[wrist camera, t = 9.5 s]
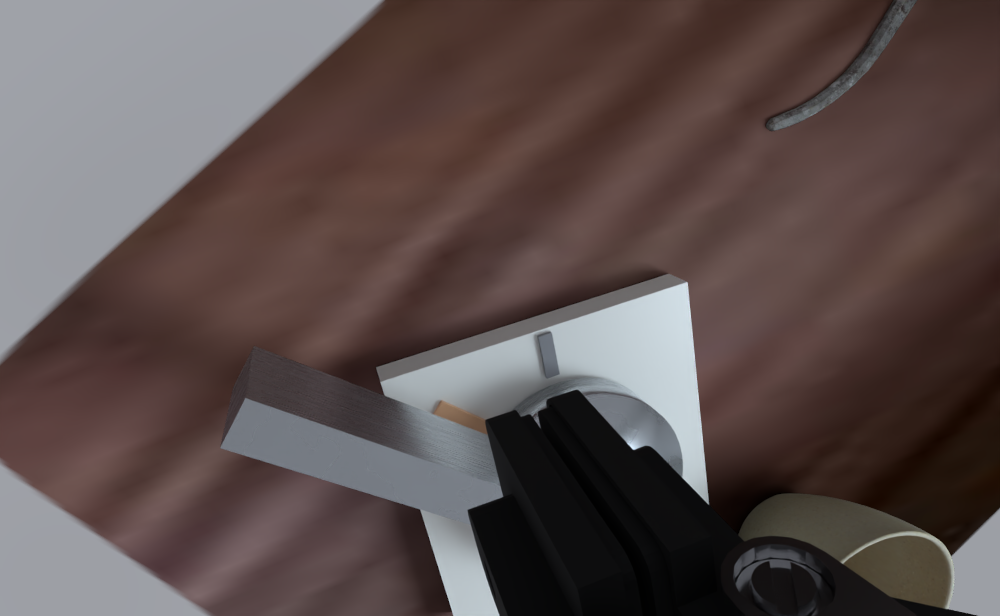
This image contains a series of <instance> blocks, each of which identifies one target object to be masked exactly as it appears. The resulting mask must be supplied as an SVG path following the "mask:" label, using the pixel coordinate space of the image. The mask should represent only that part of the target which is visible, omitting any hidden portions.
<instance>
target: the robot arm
mask: <svg viewBox="0 0 1000 616" xmlns="http://www.w3.org/2000/svg"><path fill="white" fill-rule="evenodd" d="M546 407H547V408H546V409H543V410H540V411H538V418H539V423H540V427H539V425H538V424H537V423H536V421H535V420H534V418H533V417H532V415H531V414H528V415H525V416H522V417H521V416H520V415H519V413H518V412H517V411H516V410H513V411H510V412H507V413H504V414H501V415H498V416H495V417H492V418H489V419H486V420H485V425H486V430H487V434H488V438H489V442H490V446H491V450H492V454H493V458H494V462H495V466H496V470H497V474H498V478H499V482H500V486H501V490H502V494H503V497H502V498H499V499H496V500H493V501H490V502H488V503H485V504H482V505H479V506H477V507H474V508H471V509H468V516H469V520H470V524H471V527H472V531H473V535H474V538H475V542H476V545H477V549H478V552H479V556H480V559H481V562H482V566H483V569H484V572H485V575H486V578H487V581H488V584H489V587H490V590H491V593H492V596H493V599H494V602H495V605H496V607H497V610H498V613H499V616H976V615H972V614H968V613H963V612H958V611H954V610H949V609H944V608H940V607H935V606H930V605H926V604H921V603H917V602H912V601H907V600H903V599H898V598H893V597H890V596H888V595H887V594H885V593H884V592H883V591H881V590H880V589H878V588H877V587H875V586H874V585H873V584H871V583H870V582H868V581H867V580H865V579H864V578H862V577H861V576H860V575H858V574H857V573H855V572H854V571H852V570H851V569H850V568H848V567H847V566H845V565H844V564H842V563H841V562H839V561H838V560H837V559H835V558H834V557H832V556H831V555H829V554H828V553H826V552H825V551H823V550H821V549H819V548H817V547H816V546H814V545H812V544H810V543H808V542H804V541H801V540H798V539H794V538H791V537H781V536H764V537H756V538H752V539H749V540H747V541H744V540H743V539H742V538H741V537H740V536H739V535H738V534H737V533H736V532H735V531H734V530H733V529H732V528H731V527H730V526H729V525H728V524H727V523H726V522H725V521H724V520H723V519H722V518H721V517H720V516H719V515H718V514H717V513H716V512H715V511H714V510H713V509H712V508H711V507H710V506H709V505H708V504H707V502H706V501H705V500H704V499H703V498H702V497H701V496H700V495H699V494H698V493H697V492H696V491H695V490H694V489H693V488H692V487H691V486H690V485H689V484H688V483H687V482H686V481H685V480H684V479H683V478H682V477H681V476H680V475H679V474H678V473H677V472H676V471H675V470H674V469H673V468H672V467H671V466H670V465H669V464H668V463H667V461H666V460H665V459H664V458H663V457H662V456H661V455H660V454H659V453H658V452H657V451H656V450H654V449H653V448H652V447H651V446H643V447H640V448H637V449H635V450H633V449H632V448H631V447H630V446H629V445H628V443H627V442H626V441H625V440H624V439H623V438H622V437H621V436H620V435H619V434H618V432H617V431H616V430H615V429H614V428H613V427H612V426H611V425H610V424H609V423H608V421H607V420H606V419H605V418H604V417H603V416H602V415H601V414H600V413H599V412H598V411H597V409H596V408H595V407H594V406H593V405H592V404H591V403H590V402H589V401H588V400H587V398H586V397H585V396H584V395H583V394H582V393H581V392H580V391H579V390H573V391H570V392H567V393H564V394H561V395H558V396H555V397H552V398H549V399H547V401H546Z"/></svg>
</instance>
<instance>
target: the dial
mask: <svg viewBox="0 0 1000 616" xmlns="http://www.w3.org/2000/svg"><path fill="white" fill-rule="evenodd" d="M573 390H579V391H580V392H581V393H582V394H583V395H584V396H585V397H586V398H587V400H588V401H589V402H590V403H591V404H592V405H593V406H594V407H595V408H596V409H597V411H598V412H599V413H600V414H601V415H602V416H603V417H604V418H605V419H606V420H607V421H608V423H609V424H610V425H611V426H612V427H613V428H614V429H615V430H616V431H617V432H618V434H619V435H620V436H621V437H622V438H623V439H624V440H625V441H626V442H627V443H628V445H629V446H630V447H631V448H632V449H633V450H635V449H637V448H640V447H643V446H651V447H652V448H653V449H654V450H656V451H657V452H658V453H659V454H660V455H661V456H662V457H663V458H664V459H665V460H666V461H667V463H668V464H669V465H670V466H671V467H672V468H673V469H674V470H675V471H676V472H677V473H678V474H679V475H680V476H681V477H682V476H683V459H682V452H681V448H680V443H679V441H678V439H677V436H676V434H675V432H674V430H673V429H672V427H671V426H670V424H669V423H668V422H667V421H666V420H665V418H664V417H663V416H662V415H660V414H659V413H658V412H657V411H656V410H654V409H653V408H652V407H651V406H650V405H649V404H647V403H646V402H645V401H644V400H643V399H641V398H640V397H639V396H638V395H637V394H635V393H634V392H633V391H632V390H630V389H628V388H627V387H625V386H623V385H621V384H618V383H616V382H613V381H610V380H605V379H600V378H577V379H571V380H566V381H562V382H559V383H556V384H553V385H550V386H548V387H546V388H544V389H542V390H540V391H538V392H536V393H534V394H533V395H531V396H530V397H528V398H526V399H525V400H524V401H523V402H521V403H520V404H519V405H517V406H516V407H515V408H514V409H513V410H516V411H517V412H518V413H519V415H520V416H521V417H522V416H525V415H528V414H531V415H532V417H533V418H534V420H535V421H536V423H537V424H538V425H539V427H540V423H539V418H538V411H540V410H543V409H546V408H547V407H546V401H547V399H549V398H552V397H555V396H558V395H561V394H564V393H567V392H570V391H573ZM513 410H512V411H513ZM220 448H222V449H225V450H228V451H232V452H235V453H238V454H241V455H245V456H248V457H251V458H254V459H258V460H261V461H264V462H267V463H271V464H274V465H277V466H280V467H284V468H287V469H290V470H293V471H297V472H300V473H303V474H306V475H310V476H313V477H316V478H319V479H323V480H326V481H329V482H332V483H336V484H339V485H342V486H345V487H349V488H352V489H355V490H359V491H362V492H365V493H368V494H372V495H375V496H378V497H381V498H385V499H388V500H391V501H394V502H398V503H401V504H404V505H407V506H411V507H414V508H417V509H420V510H424V511H427V512H430V513H433V514H437V515H440V516H443V517H446V518H450V519H453V520H456V521H459V522H463V523H466V524H469V525H471V524H470V520H469V516H468V509H471V508H474V507H477V506H479V505H482V504H485V503H488V502H490V501H493V500H496V499H499V498H502V497H503V494H502V490H501V486H500V482H499V478H498V474H497V470H496V466H495V462H494V458H493V454H492V450H491V446H490V442H489V438H488V435H486V434H484V433H481V432H479V431H476V430H473V429H471V428H468V427H465V426H463V425H460V424H458V423H455V422H452V421H450V420H447V419H444V418H442V417H439V416H437V415H434V414H431V413H429V412H426V411H424V410H421V409H418V408H416V407H413V406H410V405H408V404H405V403H403V402H400V401H397V400H395V399H392V398H390V397H387V396H384V395H382V394H379V393H376V392H374V391H371V390H369V389H366V388H363V387H361V386H358V385H356V384H353V383H350V382H348V381H345V380H342V379H340V378H337V377H335V376H332V375H329V374H327V373H324V372H321V371H319V370H316V369H314V368H311V367H308V366H306V365H303V364H301V363H298V362H295V361H293V360H290V359H287V358H285V357H282V356H280V355H277V354H274V353H272V352H269V351H267V350H264V349H261V348H259V347H256V346H254V347H253V349H252V351H251V353H250V355H249V357H248V359H247V361H246V363H245V365H244V367H243V369H242V371H241V373H240V375H239V377H238V379H237V381H236V383H235V385H234V387H233V390H232V395H231V400H230V404H229V409H228V414H227V418H226V423H225V428H224V432H223V437H222V442H221V446H220Z"/></svg>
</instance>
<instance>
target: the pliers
mask: <svg viewBox="0 0 1000 616" xmlns="http://www.w3.org/2000/svg"><path fill="white" fill-rule="evenodd" d="M916 1H917V0H893V2H892V4H891V6H890V7H889V9H888V11H887V12H886V14H885V16H884V17H883V19H882V21H881V22H880V24H879V26H878V27H877V29H876V30H875V32H874V34H873V35H872V37H871V38H870V40H869V42H868V43H867V44H866V46H865V47H864V49H863V50H862V52H861V53H860V55H859V56H858V57H857V59H856V60H855V61H854V62H853V63H852V64H851V66H850V67H849V68H848V69H847V70H846V71H845V73H843V74H842V75H841V76H840V77H839V78H838V79H837V80H836V81H835V82H834V83H832V84H831V85H830V86H829V87H828V88H826V89H825V90H824V91H822V92H821V93H820V94H818V95H817V96H816V97H814V98H813V99H811V100H810V101H808V102H806V103H804V104H802V105H801V106H799V107H797V108H795V109H792V110H790V111H788V112H785V113H783V114H780V115H778V116H776V117H774V118H771V119H769V121H768V123H767V124H766V128H767V129H768V130H770V131H775V130H779V129H783V128H786V127H788V126H791V125H793V124H796V123H798V122H801V121H803V120H805V119H806V118H808V117H810V116H812V115H814V114H816V113H817V112H819V111H821V110H822V109H824V108H825V107H826V106H828V105H829V104H831V103H832V102H834V101H835V100H836V99H838V98H839V97H840V96H841V95H843V94H844V93H845V92H846V91H847V90H849V89H850V88H851V87H852V86H853V85H854V84H855V83H856V82H857V81H858V80H859V79H860V78H861V77H862V76H863V75H864V74H865V73H866V72H867V71H868V70H869V69H870V67H871V66H872V65H873V64H874V62H875V61H876V60H877V58H878V57H879V56H880V54H881V53H882V52H883V50H884V49H885V47H886V46H887V44H888V43H889V42H890V40H891V39H892V37H893V36H894V34H895V33H896V31H897V30H898V28H899V27H900V25H901V24H902V22H903V21H904V19H905V18H906V16H907V15H908V13H909V12H910V10H911V9H912V7H913V6H914V4H915V3H916Z"/></svg>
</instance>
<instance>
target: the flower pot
mask: <svg viewBox="0 0 1000 616" xmlns="http://www.w3.org/2000/svg"><path fill="white" fill-rule="evenodd" d="M738 535H739V536H740V537H741V538H742V539H743V540H744V541H747V540H749V539H752V538H756V537H764V536H781V537H791V538H794V539H798V540H801V541H804V542H808V543H810V544H812V545H814V546H816V547H817V548H819V549H821V550H823V551H825V552H826V553H828V554H829V555H831V556H832V557H834V558H835V559H837V560H838V561H839V562H841V563H842V564H844V565H845V566H847V567H848V568H850V569H851V570H852V571H854V572H855V573H857V574H858V575H860V576H861V577H862V578H864V579H865V580H867V581H868V582H870V583H871V584H873V585H874V586H875V587H877V588H878V589H880V590H881V591H883V592H884V593H885V594H887V595H888V596H890V597H893V598H898V599H903V600H907V601H912V602H917V603H921V604H926V605H930V606H935V607H940V608H944V609H948V607H949V604H950V601H951V598H952V594H953V588H954V566H953V561H952V558H951V555H950V553H949V551H948V550H947V548H946V547H945V545H944V544H943V543H942V542H941V541H939V540H938V539H937V538H935V537H934V536H932V535H930V534H928V533H927V532H925V531H923V530H921V529H919V528H917V527H915V526H913V525H911V524H909V523H907V522H905V521H903V520H900V519H898V518H896V517H893V516H891V515H888V514H886V513H883V512H881V511H878V510H875V509H872V508H869V507H866V506H863V505H860V504H856V503H853V502H849V501H845V500H841V499H836V498H831V497H825V496H819V495H810V494H792V493H788V494H779V495H775V496H773V497H770V498H768V499H766V500H765V501H763V502H762V503H760V504H759V505H758V506H756V507H755V508H754V509H753V510H752V511H751V513H750V514H749V515H748V516H747V518H746V519H745V521H744V522H743V524H742V526H741V529H740V531H739V534H738Z"/></svg>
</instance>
